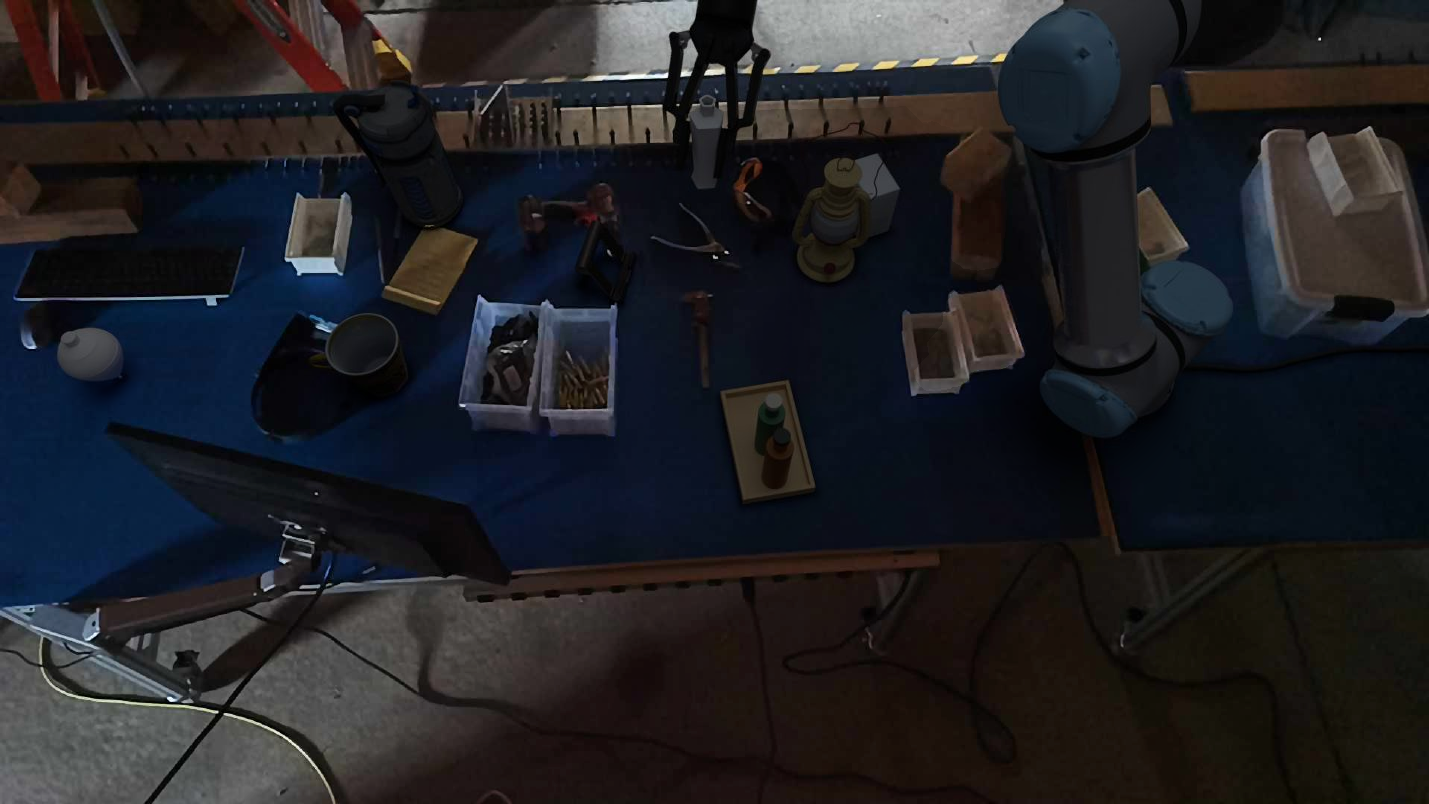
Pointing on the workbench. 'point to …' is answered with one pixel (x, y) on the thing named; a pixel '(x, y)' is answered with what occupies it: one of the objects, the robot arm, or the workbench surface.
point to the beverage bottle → (404, 150)
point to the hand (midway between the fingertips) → (698, 173)
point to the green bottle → (768, 421)
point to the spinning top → (90, 355)
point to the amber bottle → (777, 459)
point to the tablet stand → (589, 268)
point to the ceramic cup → (366, 354)
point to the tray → (742, 431)
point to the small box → (878, 193)
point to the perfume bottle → (705, 141)
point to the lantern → (833, 220)
